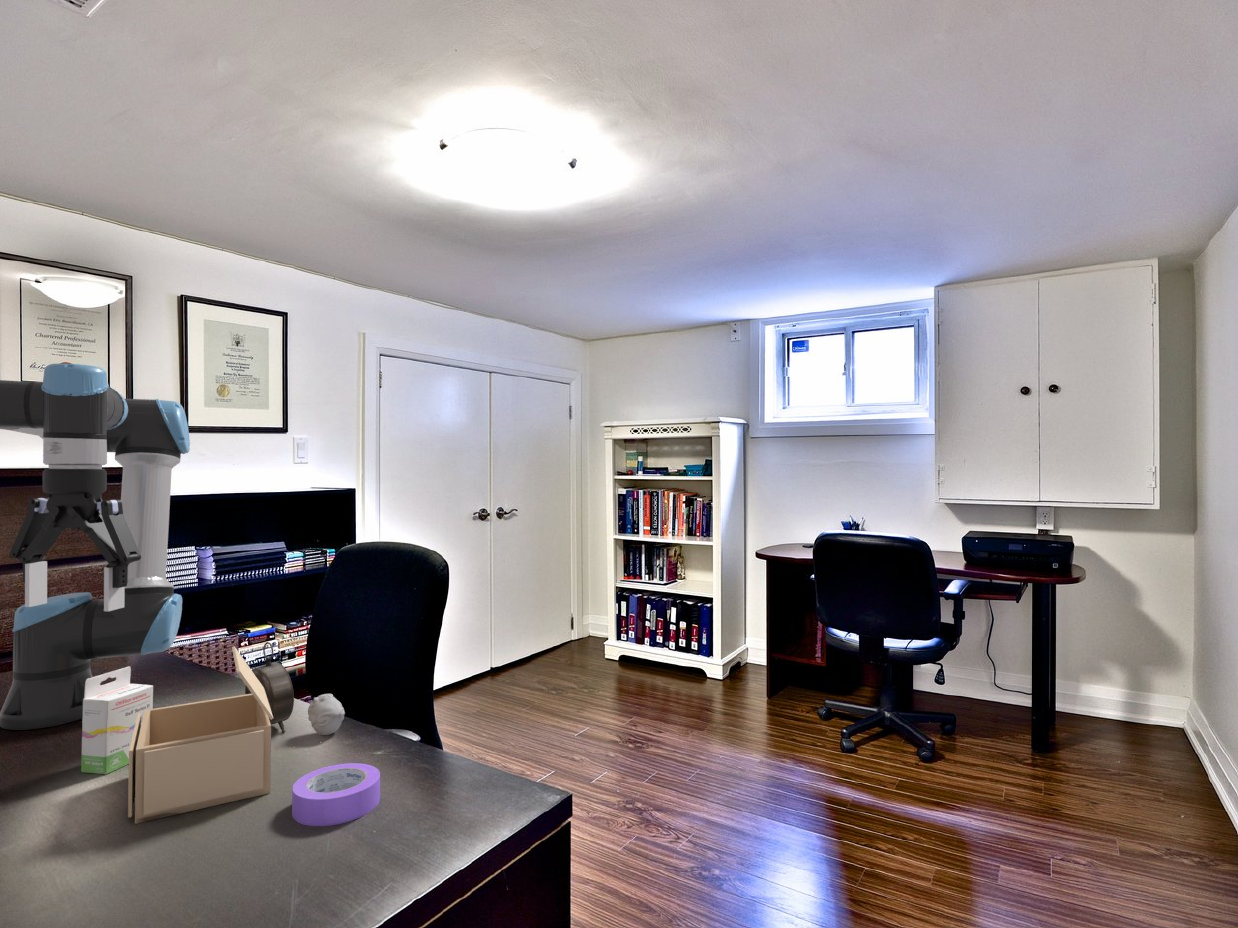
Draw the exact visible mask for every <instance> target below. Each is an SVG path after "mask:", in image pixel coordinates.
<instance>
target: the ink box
mask: <svg viewBox="0 0 1238 928" xmlns="http://www.w3.org/2000/svg"><path fill="white" fill-rule="evenodd" d="M131 668H132V667H131V666H126V667H122V668H119V669H116V670H112V671H109V672H108V671H107V672H105V673H103V674H100V675H99V674H98V675H95V676H93V677H92V678H88V679H87V680H86V681H85V691H84V699H83V718H82V721H81V723H82V728H81V729H82V730H81V762H80V765H81V766H80V767H81V769H80V772H81V773H86V774H87V773H89V774H95V775H96V774H98V775H108V774H110V773H112V772H114V771H117V770H119V769H120V768H124V767H125V766H129V749H130V745H131V741H132V736H133V732H134V728H135V724H136V720H137V716H138V713H141V724H142V719H143V715H144V710H148V709H154V708H153V707H154V706H153V705H154V701H153V700H154V685H151V684H141V683H131V674H132V669H131ZM109 678H110V679H114V678H115V680H113V681H111V682H108V683H105V684H101V683H102V682H104V681H106V680H107V679H109Z"/></svg>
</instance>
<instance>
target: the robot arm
mask: <svg viewBox="0 0 1238 928" xmlns="http://www.w3.org/2000/svg"><path fill="white" fill-rule="evenodd" d="M0 430H6V431H12V432H16V433H23V434H27V435H31V436H32V435H34V436H37V437H39V438H41V439H42V443H43V444H42V446H43V448H42V449H43V450H42V463H43V465H46V466H48V468H44V470H42V491H43V493H44V494H46V495H48V497H37V498H36V497H35V498H29V499H28V501H27V502H28V503H27V504H28V505H27V512H26V515H25V517H24V520H23V522H22V524H21V526H20V529H19V531H18V533H17V535H16V538H15V540H14V541H13V542H14V543H13V545H12V547H11V549H10V551H9V554H8V555H9V557H10V558H11V559H17V560H19V562H20V563H21V564H22V582H23V584H24V604H22V605H21V606H19V607H18V608H17V609H16V610H15V612H14V620H13V621H14V622H13V628H12V630H11V631H12V634H13V635H12V638H13V639H12V644H13V645H12V646H13V647H12V683H11V685H10V688H9V691H8V694H7V695H6V698H5V700H4V703H3V705H2V707H1V710H0V728H2V729H4V730H12V731H25V730H26V731H27V730H36V729H43V728H50V727H54V726H55V727H56V726H59V725H64V724H68V723H72V722H75V721H78V720H83V699H84V691H85V681H86V680H87V679H88V678H92V677H94V676H93V674H92V671H91V660H93V659H94V660H95V659H105V658H117V657H129V656H139V655H141V656H145V655H148V654H155V653H162V652H165V651H167V650H169V649H170V648H171V647H172V645H173V644H174V642H175V639H176V637H177V635H178V630H179V628H180V623H181V618H182V613H183V612H182V611H183V597H182V595H181V594H178V593H175V591H174V590H175V586H174V585H173V584H172V583H171V582H170V581H168V579H167V566H168V565H167V564H168V563H167V562H168V561H167V560H168V546H169V545H168V544H169V543H168V542H169V528H170V527H169V526H170V508H171V507H170V506H171V488H172V470H173V468H175V467H176V466H177V465H179V464H180V463H181V457H182V455H185V454H188V453H189V452H190V449H191V448H190V444H191V442H190V441H191V440H190V432H189V431H190V430H189V425H188V421H187V416H186V411H185V409H184V407H183V406H182V404H181V403H179V402H177V401H174V400H163V399H159V398H155V399H148V398H147V399H145V398H144V399H142V398H124V396H123V395H122V394H120V393H119V391H117V390H116V389H115V388H112V387H111V386H109V383H108V375H107V371H106V370H105V369H104V368H103V367H100V366H95V365H89V364H88V365H87V364H80V363H50V364H48V365H47V366H46V367H44V369H43V379H42V381H25V380H24V381H22V380H5V379H4V380H3V379H0ZM108 453H114V460H115V462H117V463H118V464H119V465H121V466H122V475H121V476H122V477H121V479H122V480H121V493H120V495H121V496H120V499H109V500H108V499H107V500H105V499H103V497H102V495H103V493H105V492H106V491H107V489H108V488H107V487H108V486H107V485H108V481H107V480H108V478H107V476H108V473H107V470H106V468H103V466H106V465H107V464H108ZM181 454H182V455H181ZM68 529H71V530H80V531H81V532H83V533H85V534H87V535H88V537H89V538H90V539H91V541H92V542H93V544H94V545H95V546H96V548H97V549H98V551H99V552H100V553H101V556H103V558H104V559H105V560H106V562H107V564H106V565H105V566H104V567H103V599H102V598H101V599H94V598H93V595H92V593H91V592H88V591H85V592H73V593H65V594H60V595H55V596H51V597H48V561H47V558H46V557H45V555H46V554H47V553H48V552H49V550H50V549H52V546H53V545H54V543H56V541H57V540H58V539H59V537H60V536H61V535H62V534H63V532H64V531H65V530H68Z"/></svg>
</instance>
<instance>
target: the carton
mask: <svg viewBox="0 0 1238 928" xmlns="http://www.w3.org/2000/svg"><path fill="white" fill-rule="evenodd" d="M271 747H272V725H271V724H270V720H269V717H268V715H267V714H266V712H265V711H264V710H263V708H262V707H261V705H260V704H259V703H258V701H257V700H256V699H255V697H254V696H253V694H246V695H245V694H241V695H233V696H227V697H221V698H214V699H207V700H201V701H194V702H188V703H183V704H182V703H181V704H174V705H169V706H163V707H162V706H161V707H156V708H153V709H148V710H144V715H143V719H142V724H141V713H138V716H137V720H136V724H135V728H134V732H133V736H132V741H131V745H130V749H129V764H128V786H127V787H128V793H127V795H128V796H127V799H128V802H127V803H128V804H127V817H128V818H131V817H133V812H134V824H140V823H143V822H145V823H146V822H149V821H152V820H157V819H162V818H166V817H171V816H176V815H179V814H183V813H189V812H192V811H193V812H194V811H197V810H201V809H206V808H211V807H215V806H218V805H219V806H220V805H223V804H228V803H232V802H236V801H242V800H245V799H249V798H250V799H251V798H255V797H258V796H262V795H267V794H271V782H272V781H271V778H272V777H271V775H272V774H271V773H272V771H271V770H272V769H271V766H272V764H271V763H272V762H271V759H272V748H271Z"/></svg>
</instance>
